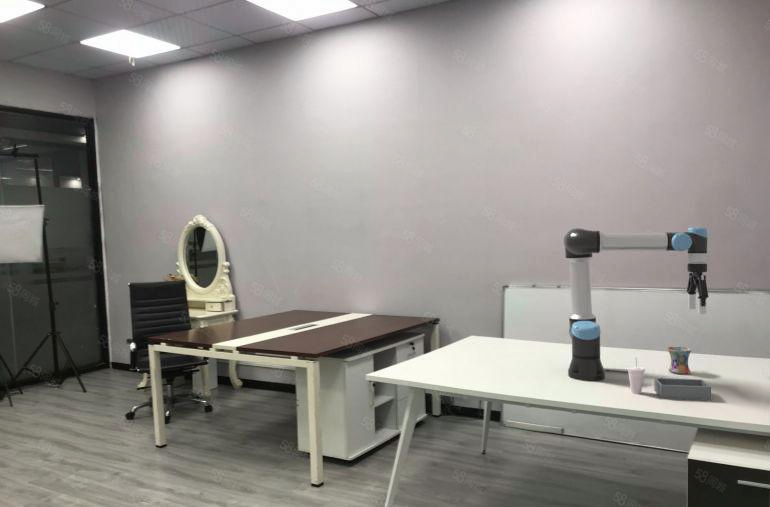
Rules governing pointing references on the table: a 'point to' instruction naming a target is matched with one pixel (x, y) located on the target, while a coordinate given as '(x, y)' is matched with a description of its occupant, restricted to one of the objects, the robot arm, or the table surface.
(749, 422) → the table surface
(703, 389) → the tray
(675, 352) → the mug
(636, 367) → the smoothie
